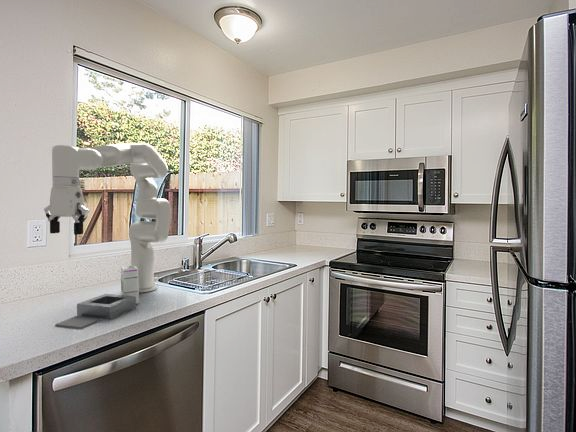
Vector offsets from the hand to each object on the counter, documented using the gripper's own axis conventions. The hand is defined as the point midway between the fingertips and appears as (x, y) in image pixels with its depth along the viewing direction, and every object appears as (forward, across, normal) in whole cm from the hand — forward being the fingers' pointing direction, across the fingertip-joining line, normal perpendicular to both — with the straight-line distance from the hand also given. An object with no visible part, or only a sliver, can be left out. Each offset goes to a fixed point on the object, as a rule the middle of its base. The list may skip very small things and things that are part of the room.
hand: (66, 233), depth 113 cm
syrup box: (+30, -7, -22) cm, 38 cm away
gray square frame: (+30, -7, -10) cm, 32 cm away
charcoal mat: (+30, -6, +2) cm, 30 cm away
